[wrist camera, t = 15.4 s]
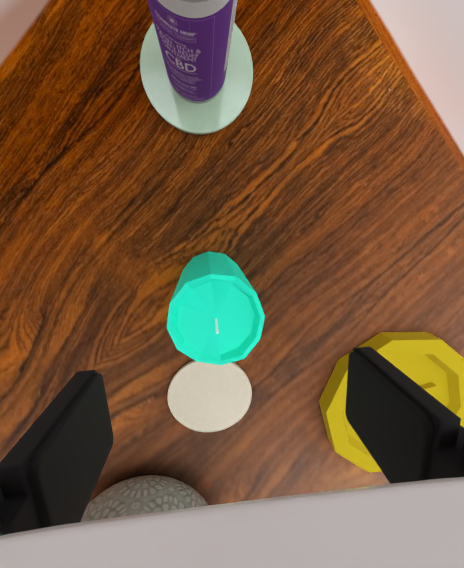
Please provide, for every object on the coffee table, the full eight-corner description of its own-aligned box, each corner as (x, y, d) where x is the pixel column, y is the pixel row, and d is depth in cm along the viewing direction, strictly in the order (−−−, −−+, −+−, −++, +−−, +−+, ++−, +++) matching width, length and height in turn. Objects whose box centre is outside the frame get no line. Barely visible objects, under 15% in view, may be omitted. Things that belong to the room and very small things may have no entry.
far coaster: (172, 433, 31) (171, 436, 30) (163, 360, 28) (162, 363, 28) (252, 424, 31) (253, 427, 31) (249, 352, 29) (250, 355, 29)
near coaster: (148, 136, 23) (147, 134, 23) (133, 6, 21) (132, 1, 20) (253, 133, 24) (254, 131, 23) (250, 7, 22) (251, 3, 21)
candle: (254, 287, 27) (290, 341, 16) (205, 322, 28) (206, 399, 16) (218, 238, 26) (229, 257, 14) (167, 275, 26) (138, 323, 15)
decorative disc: (292, 389, 31) (298, 401, 29) (428, 300, 30) (444, 306, 28) (358, 480, 35) (367, 495, 33) (480, 405, 34) (496, 417, 32)
